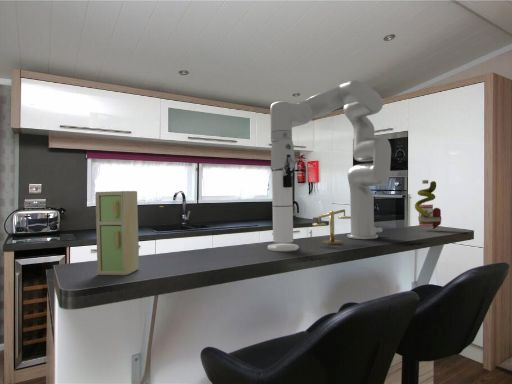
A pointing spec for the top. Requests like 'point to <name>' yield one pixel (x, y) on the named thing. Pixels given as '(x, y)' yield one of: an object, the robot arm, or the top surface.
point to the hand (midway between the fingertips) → (282, 187)
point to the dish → (283, 247)
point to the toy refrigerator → (117, 232)
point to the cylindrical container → (282, 209)
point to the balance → (318, 223)
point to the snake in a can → (428, 207)
